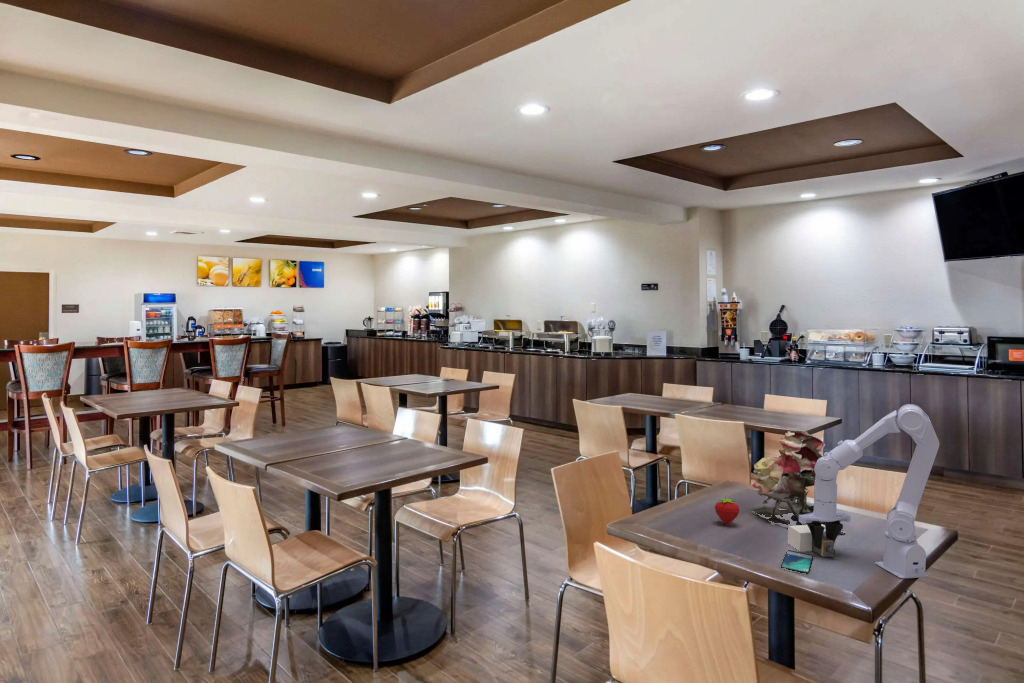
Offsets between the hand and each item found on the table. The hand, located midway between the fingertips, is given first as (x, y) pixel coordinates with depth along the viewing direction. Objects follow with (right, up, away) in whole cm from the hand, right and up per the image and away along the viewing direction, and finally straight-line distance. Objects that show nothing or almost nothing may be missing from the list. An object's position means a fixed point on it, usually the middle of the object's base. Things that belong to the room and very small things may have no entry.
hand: (823, 547), depth 172 cm
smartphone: (-10, -3, -5) cm, 11 cm away
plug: (0, -2, +1) cm, 3 cm away
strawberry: (-19, -1, +23) cm, 30 cm away
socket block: (-1, -2, +6) cm, 6 cm away
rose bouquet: (+5, -1, +29) cm, 30 cm away
